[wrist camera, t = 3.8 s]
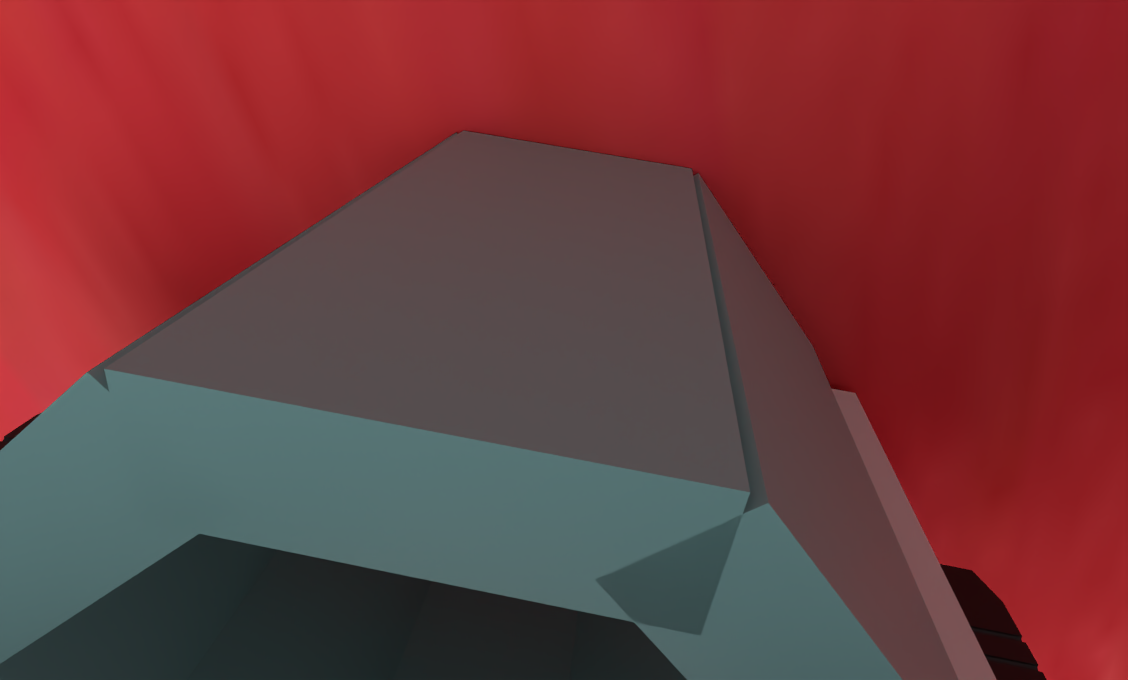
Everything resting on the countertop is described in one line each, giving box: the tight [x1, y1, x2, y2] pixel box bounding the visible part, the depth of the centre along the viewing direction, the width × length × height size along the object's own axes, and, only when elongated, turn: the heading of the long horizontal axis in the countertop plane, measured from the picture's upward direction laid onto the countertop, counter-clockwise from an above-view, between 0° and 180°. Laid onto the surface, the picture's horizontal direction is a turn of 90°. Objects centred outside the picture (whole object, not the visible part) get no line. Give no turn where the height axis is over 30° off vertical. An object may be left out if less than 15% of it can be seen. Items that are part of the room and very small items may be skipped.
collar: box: [0, 131, 958, 680], centre depth 10 cm, size 10×10×8 cm
